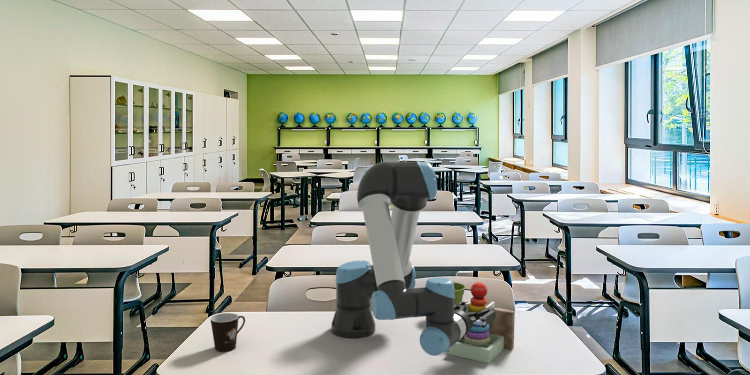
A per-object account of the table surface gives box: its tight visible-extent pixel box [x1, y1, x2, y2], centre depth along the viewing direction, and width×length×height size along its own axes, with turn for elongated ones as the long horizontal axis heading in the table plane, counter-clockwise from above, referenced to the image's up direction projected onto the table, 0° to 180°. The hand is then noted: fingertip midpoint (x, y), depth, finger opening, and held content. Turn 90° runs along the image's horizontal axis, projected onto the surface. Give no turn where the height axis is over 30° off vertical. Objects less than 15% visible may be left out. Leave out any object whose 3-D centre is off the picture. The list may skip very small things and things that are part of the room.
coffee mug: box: [210, 312, 246, 353], centre depth 180 cm, size 12×9×10 cm
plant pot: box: [452, 281, 467, 304], centre depth 210 cm, size 12×12×11 cm
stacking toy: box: [464, 281, 490, 345], centre depth 176 cm, size 8×8×19 cm
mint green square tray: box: [448, 334, 505, 364], centre depth 177 cm, size 13×13×4 cm
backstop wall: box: [459, 302, 516, 350], centre depth 183 cm, size 18×2×12 cm, turn 59°
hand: (483, 304), depth 180 cm, fingers closed on stacking toy, 6 cm apart
